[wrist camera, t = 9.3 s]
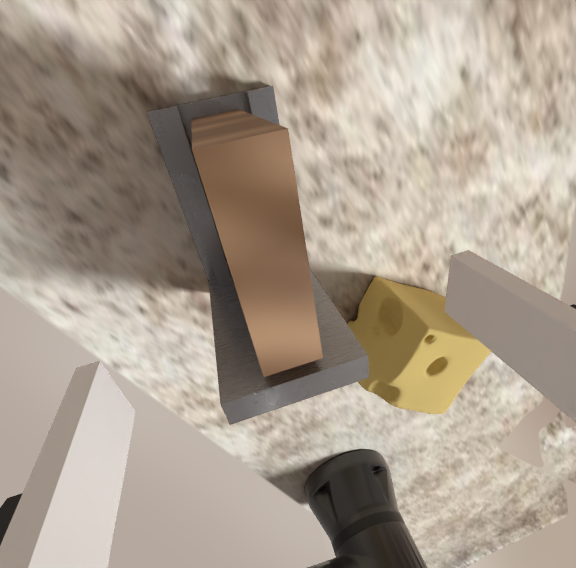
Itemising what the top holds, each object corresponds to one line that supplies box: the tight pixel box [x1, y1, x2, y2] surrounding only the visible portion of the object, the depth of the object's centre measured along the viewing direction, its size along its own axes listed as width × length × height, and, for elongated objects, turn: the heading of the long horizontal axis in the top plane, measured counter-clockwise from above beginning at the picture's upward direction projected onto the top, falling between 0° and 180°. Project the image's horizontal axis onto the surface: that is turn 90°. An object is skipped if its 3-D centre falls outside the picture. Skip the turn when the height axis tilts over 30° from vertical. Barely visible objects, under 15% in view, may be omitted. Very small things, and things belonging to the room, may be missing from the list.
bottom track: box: [147, 86, 369, 425], centre depth 21 cm, size 16×9×15 cm, turn 10°
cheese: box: [348, 276, 492, 414], centre depth 35 cm, size 10×11×10 cm
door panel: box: [191, 109, 323, 377], centre depth 20 cm, size 12×4×14 cm, turn 10°
